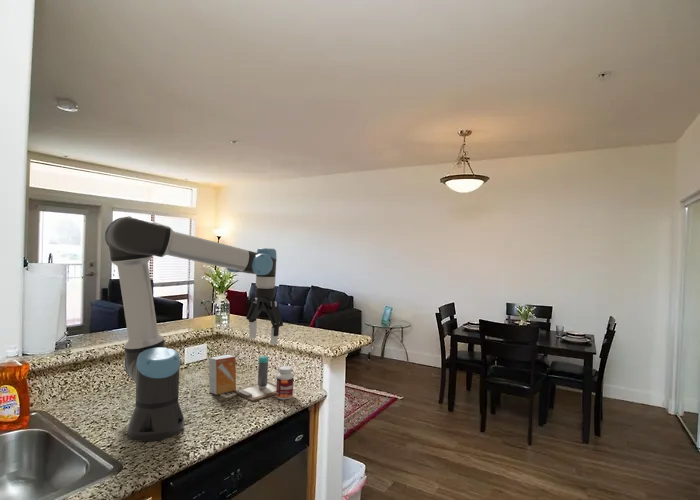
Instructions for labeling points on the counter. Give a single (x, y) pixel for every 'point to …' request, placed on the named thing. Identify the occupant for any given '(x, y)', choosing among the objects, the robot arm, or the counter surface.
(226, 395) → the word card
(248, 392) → the clipboard
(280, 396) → the pill bottle
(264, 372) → the marker
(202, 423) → the counter surface
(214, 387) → the small box
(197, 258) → the robot arm
